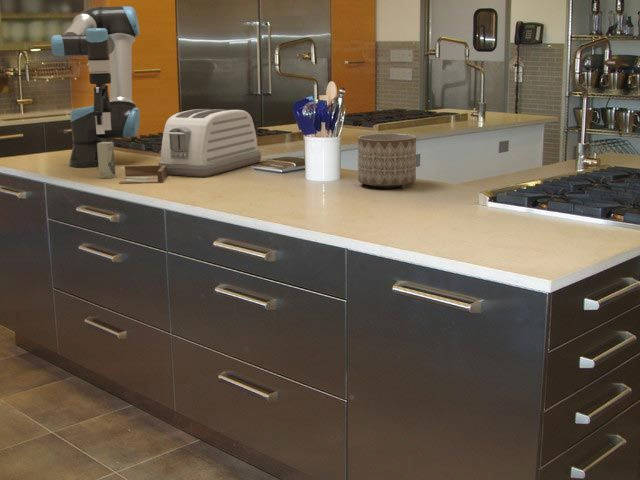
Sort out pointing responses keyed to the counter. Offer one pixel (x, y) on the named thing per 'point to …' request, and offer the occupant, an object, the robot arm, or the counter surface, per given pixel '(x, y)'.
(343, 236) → the counter surface
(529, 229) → the counter surface
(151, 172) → the arena
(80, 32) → the robot arm
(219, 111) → the toaster
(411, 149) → the planter
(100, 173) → the box
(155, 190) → the counter surface
